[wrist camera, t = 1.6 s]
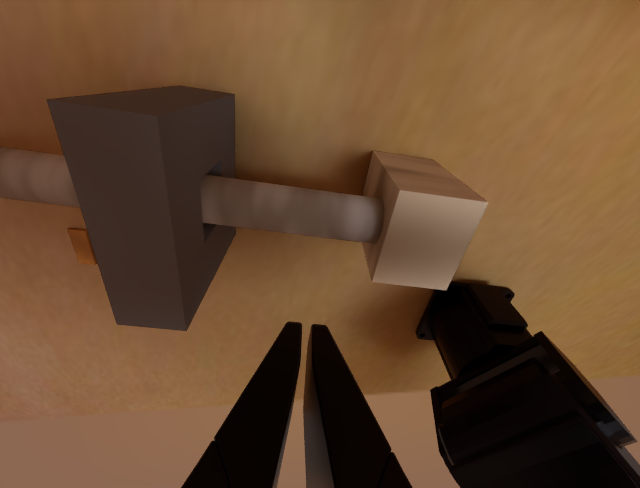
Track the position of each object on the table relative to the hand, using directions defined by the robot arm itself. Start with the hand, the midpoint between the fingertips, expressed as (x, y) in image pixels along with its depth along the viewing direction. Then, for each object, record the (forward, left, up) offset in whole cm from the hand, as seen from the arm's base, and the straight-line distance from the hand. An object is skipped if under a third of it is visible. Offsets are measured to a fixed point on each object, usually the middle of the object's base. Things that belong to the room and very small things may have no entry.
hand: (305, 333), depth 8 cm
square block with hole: (0, +6, -13) cm, 15 cm away
